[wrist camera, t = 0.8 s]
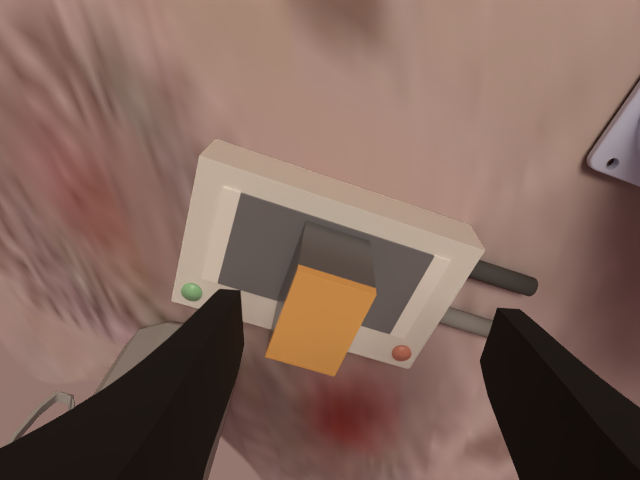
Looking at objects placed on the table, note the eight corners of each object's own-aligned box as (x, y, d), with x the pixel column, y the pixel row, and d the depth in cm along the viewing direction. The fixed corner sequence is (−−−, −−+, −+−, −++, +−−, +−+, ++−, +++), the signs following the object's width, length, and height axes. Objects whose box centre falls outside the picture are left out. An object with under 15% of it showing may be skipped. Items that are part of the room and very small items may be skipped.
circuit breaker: (470, 224, 20) (486, 252, 18) (403, 337, 24) (409, 371, 22) (215, 138, 19) (198, 156, 17) (187, 272, 23) (169, 303, 20)
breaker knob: (370, 241, 18) (376, 294, 15) (336, 315, 20) (334, 376, 17) (305, 220, 18) (297, 270, 14) (278, 297, 20) (264, 357, 17)
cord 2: (532, 274, 22) (540, 285, 21) (522, 288, 22) (529, 300, 21) (446, 245, 21) (451, 256, 20) (437, 261, 22) (441, 271, 21)
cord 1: (499, 319, 23) (505, 331, 22) (490, 331, 24) (496, 343, 23) (418, 294, 23) (422, 305, 22) (411, 307, 23) (413, 319, 22)
